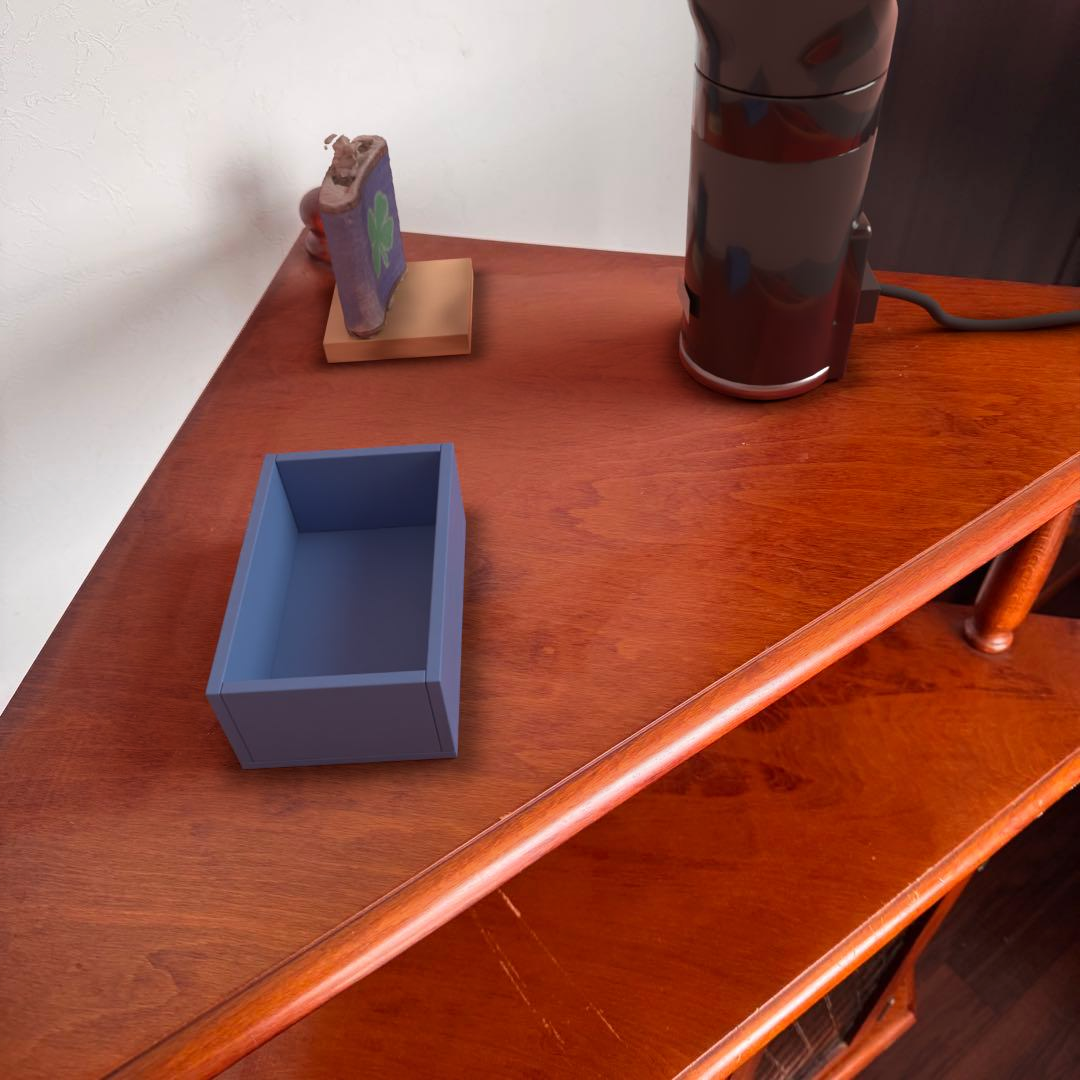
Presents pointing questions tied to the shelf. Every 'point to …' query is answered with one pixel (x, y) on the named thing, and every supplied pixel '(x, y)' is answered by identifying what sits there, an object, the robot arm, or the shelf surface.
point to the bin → (346, 611)
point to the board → (413, 317)
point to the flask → (362, 231)
